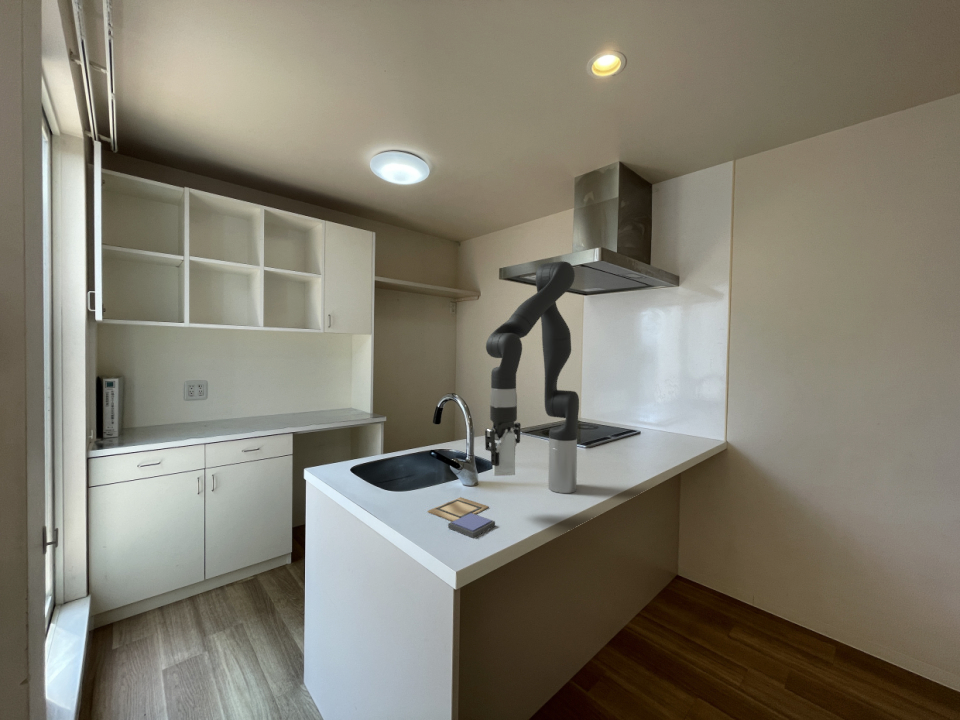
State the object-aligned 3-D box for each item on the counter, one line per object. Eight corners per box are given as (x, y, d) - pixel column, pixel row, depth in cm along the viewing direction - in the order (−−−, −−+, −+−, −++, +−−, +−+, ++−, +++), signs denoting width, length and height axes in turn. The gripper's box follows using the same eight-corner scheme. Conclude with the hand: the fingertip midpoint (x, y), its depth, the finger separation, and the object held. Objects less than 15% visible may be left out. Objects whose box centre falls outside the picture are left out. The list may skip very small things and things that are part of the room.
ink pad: (470, 517, 108) (470, 511, 108) (495, 525, 103) (495, 520, 103) (448, 528, 101) (448, 522, 101) (472, 538, 96) (473, 532, 96)
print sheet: (460, 498, 122) (460, 496, 122) (488, 507, 115) (488, 505, 115) (427, 512, 111) (427, 510, 111) (456, 523, 104) (456, 521, 104)
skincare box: (512, 471, 113) (512, 429, 113) (515, 476, 109) (515, 433, 108) (491, 471, 113) (491, 429, 112) (493, 476, 108) (493, 433, 108)
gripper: (507, 400, 118) (507, 454, 118) (477, 405, 107) (476, 465, 107) (528, 402, 113) (528, 459, 114) (498, 408, 102) (498, 471, 103)
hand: (503, 462), depth 111 cm, fingers closed on skincare box, 7 cm apart
